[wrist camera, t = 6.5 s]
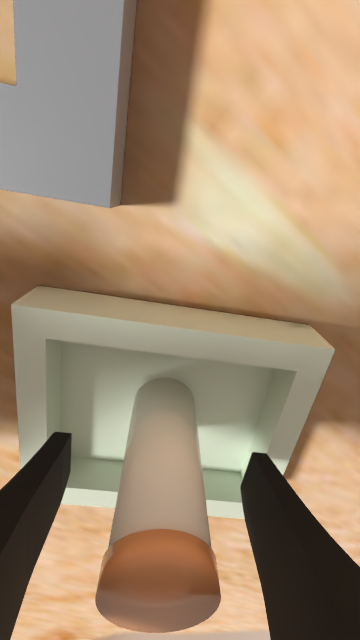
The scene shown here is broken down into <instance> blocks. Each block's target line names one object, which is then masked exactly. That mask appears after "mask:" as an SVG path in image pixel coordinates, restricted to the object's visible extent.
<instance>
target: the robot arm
mask: <svg viewBox="0 0 360 640" xmlns="http://www.w3.org/2000/svg"><path fill="white" fill-rule="evenodd" d="M71 442H72V433H65V432H54V433H53V434H52V435H51V436H50V437H49V439H48V440H47V441H46V442H45V443H44V445H43V446H42V447H41V448H40V449H39V450H38V451H37V453H36V454H35V455H34V456H33V457H32V458H31V459H30V460H29V461H28V462H27V463H26V464H25V466H24V467H23V468H22V469H21V470H20V471H19V472H18V473H17V474H16V475H15V476H14V477H13V478H12V479H11V480H10V481H9V482H8V483H7V484H6V485H5V486H4V487H3V488H2V489H1V490H0V640H10V638H11V635H12V632H13V629H14V626H15V623H16V619H17V616H18V613H19V610H20V607H21V604H22V601H23V598H24V595H25V592H26V589H27V586H28V583H29V580H30V578H31V575H32V572H33V570H34V567H35V565H36V562H37V560H38V557H39V555H40V552H41V550H42V548H43V545H44V543H45V540H46V538H47V535H48V533H49V531H50V528H51V526H52V523H53V521H54V518H55V516H56V514H57V511H58V509H59V506H60V504H61V501H62V498H63V495H64V492H65V489H66V485H67V482H68V478H69V475H70V472H71ZM240 490H241V498H242V506H243V512H244V518H245V522H246V526H247V530H248V534H249V538H250V542H251V546H252V550H253V554H254V558H255V562H256V566H257V570H258V574H259V578H260V582H261V587H262V591H263V596H264V601H265V607H266V613H267V619H268V625H269V631H270V637H271V640H360V567H359V566H358V565H357V564H356V563H355V562H354V561H353V560H352V559H351V558H350V556H349V555H348V554H347V553H346V552H345V551H344V550H343V549H342V548H341V547H340V546H339V545H338V544H337V543H336V541H335V540H334V539H333V538H332V537H331V536H330V535H329V534H328V532H327V531H326V530H325V529H324V528H323V527H322V525H321V524H320V523H319V522H318V521H317V519H316V518H315V517H314V516H313V515H312V513H311V512H310V511H309V510H308V508H307V507H306V506H305V504H304V503H303V502H302V501H301V499H300V498H299V497H298V495H297V494H296V493H295V491H294V490H293V489H292V487H291V486H290V485H289V483H288V482H287V481H286V479H285V478H284V477H283V475H282V474H281V472H280V471H279V470H278V468H277V467H276V465H275V464H274V463H273V461H272V460H271V459H270V457H269V456H268V454H267V453H258V452H252V454H251V457H250V460H249V463H248V466H247V469H246V472H245V474H244V477H243V480H242V483H241V486H240Z"/></svg>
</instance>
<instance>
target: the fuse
mask: <svg viewBox="0 0 360 640" xmlns="http://www.w3.org/2000/svg"><path fill="white" fill-rule="evenodd" d="M220 600H221V595H220V587H219V578H218V570H217V562H216V556H215V554H214V552H213V550H212V548H211V541H210V533H209V524H208V515H207V506H206V498H205V489H204V480H203V472H202V463H201V454H200V445H199V437H198V428H197V419H196V410H195V402H194V396H193V394H192V392H191V390H190V389H189V388H188V387H187V386H186V385H185V384H184V383H182V382H180V381H178V380H175V379H171V378H157V379H153V380H151V381H148V382H146V383H145V384H144V385H142V386H141V387H140V388H139V389H138V391H137V393H136V395H135V398H134V403H133V409H132V415H131V420H130V426H129V432H128V438H127V443H126V449H125V455H124V461H123V466H122V472H121V478H120V484H119V489H118V495H117V501H116V506H115V512H114V518H113V524H112V529H111V535H110V541H109V547H108V550H107V551H106V552H105V554H104V556H103V560H102V565H101V571H100V576H99V582H98V587H97V592H96V606H97V608H98V611H99V612H100V613H101V615H102V616H103V617H105V618H106V619H107V620H108V621H110V622H112V623H113V624H115V625H117V626H120V627H122V628H125V629H129V630H133V631H139V632H147V633H165V632H173V631H179V630H183V629H187V628H190V627H192V626H195V625H197V624H199V623H201V622H203V621H205V620H206V619H208V618H209V617H210V616H211V615H212V614H213V613H214V612H215V611H216V610H217V608H218V606H219V604H220Z"/></svg>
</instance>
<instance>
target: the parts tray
mask: <svg viewBox="0 0 360 640" xmlns="http://www.w3.org/2000/svg"><path fill="white" fill-rule="evenodd" d="M11 315H12V332H13V349H14V366H15V384H16V401H17V418H18V435H19V452H20V470H21V469H22V468H23V467H24V466H25V464H26V463H27V462H28V461H29V460H30V459H31V458H32V457H33V456H34V455H35V454H36V453H37V451H38V450H39V449H40V448H41V447H42V446H43V445H44V443H45V442H46V441H47V440H48V439H49V437H50V436H51V435H52V434H53V433H54V432H65V433H72V442H71V472H70V475H69V478H68V482H67V485H66V489H65V492H64V495H63V498H62V501H61V504H69V505H81V506H93V507H105V508H115V506H116V501H117V495H118V489H119V484H120V478H121V472H122V466H123V461H124V455H125V449H126V443H127V438H128V432H129V426H130V420H131V415H132V409H133V403H134V398H135V395H136V393H137V391H138V389H139V388H140V387H141V386H142V385H144V384H145V383H146V382H148V381H151V380H153V379H157V378H171V379H175V380H178V381H180V382H182V383H184V384H185V385H186V386H187V387H188V388H189V389H190V390H191V392H192V394H193V396H194V402H195V410H196V419H197V428H198V437H199V445H200V454H201V463H202V472H203V480H204V489H205V498H206V506H207V515H208V516H214V517H227V518H239V519H245V518H244V512H243V506H242V498H241V490H240V486H241V483H242V480H243V477H244V474H245V472H246V469H247V466H248V463H249V460H250V457H251V454H252V452H258V453H267V454H268V456H269V457H270V459H271V460H272V461H273V463H274V464H275V465H276V467H277V468H278V470H279V471H280V472H281V474H282V475H283V474H284V472H285V470H286V467H287V465H288V462H289V460H290V458H291V455H292V453H293V450H294V448H295V446H296V443H297V441H298V439H299V436H300V434H301V431H302V429H303V427H304V424H305V422H306V419H307V417H308V415H309V412H310V410H311V407H312V405H313V403H314V400H315V398H316V395H317V393H318V391H319V388H320V386H321V383H322V381H323V379H324V376H325V374H326V371H327V369H328V367H329V364H330V362H331V360H332V357H333V355H334V352H335V349H334V348H333V347H332V346H331V345H330V344H329V343H328V342H327V341H326V340H325V339H324V338H323V337H322V336H321V335H320V334H319V333H318V332H317V331H316V330H314V329H313V328H312V327H311V326H310V325H307V324H300V323H293V322H286V321H279V320H272V319H266V318H259V317H252V316H245V315H238V314H231V313H224V312H218V311H211V310H204V309H197V308H190V307H183V306H176V305H170V304H163V303H156V302H149V301H142V300H135V299H128V298H122V297H115V296H108V295H101V294H94V293H87V292H80V291H74V290H67V289H60V288H53V287H46V286H39V285H38V286H37V287H35V288H34V289H32V290H31V291H29V292H28V293H27V294H25V295H24V296H22V297H21V298H19V299H18V300H17V301H15V302H14V303H12V304H11Z"/></svg>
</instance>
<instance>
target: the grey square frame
mask: <svg viewBox="0 0 360 640" xmlns="http://www.w3.org/2000/svg"><path fill="white" fill-rule="evenodd" d="M136 6H137V0H13V9H14V34H15V60H16V86H14V85H9V84H4V83H0V189H1V190H7V191H13V192H19V193H25V194H30V195H36V196H42V197H48V198H54V199H60V200H65V201H71V202H77V203H83V204H89V205H94V206H100V207H106V208H112V207H116V206H120V201H121V189H122V177H123V165H124V152H125V140H126V128H127V116H128V103H129V91H130V79H131V67H132V55H133V42H134V30H135V18H136Z"/></svg>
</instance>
